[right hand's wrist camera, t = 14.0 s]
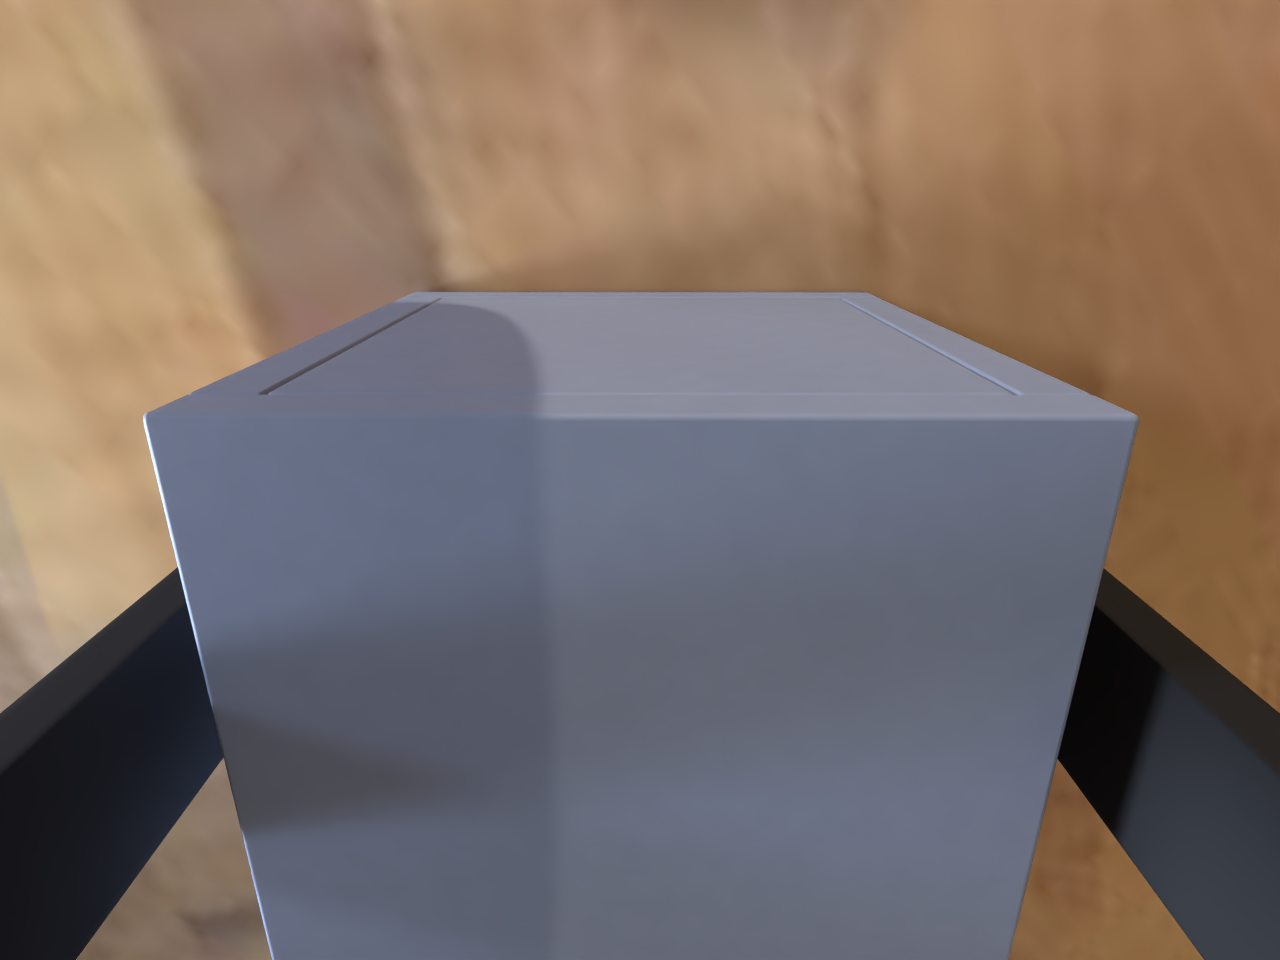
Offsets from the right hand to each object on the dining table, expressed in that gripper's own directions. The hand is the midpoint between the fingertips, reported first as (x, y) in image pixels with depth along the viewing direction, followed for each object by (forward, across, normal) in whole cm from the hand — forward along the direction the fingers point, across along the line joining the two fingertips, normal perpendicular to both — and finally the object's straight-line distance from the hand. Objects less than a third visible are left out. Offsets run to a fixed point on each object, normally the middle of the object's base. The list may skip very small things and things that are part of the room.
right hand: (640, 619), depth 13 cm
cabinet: (+7, 0, -5) cm, 8 cm away
